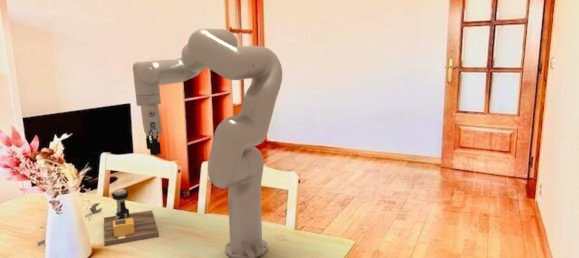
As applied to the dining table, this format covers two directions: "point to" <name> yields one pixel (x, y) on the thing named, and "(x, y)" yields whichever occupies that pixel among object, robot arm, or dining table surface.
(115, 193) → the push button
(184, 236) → the dining table surface
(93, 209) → the combination wrench
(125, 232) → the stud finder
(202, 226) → the dining table surface
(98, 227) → the dining table surface
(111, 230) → the board
